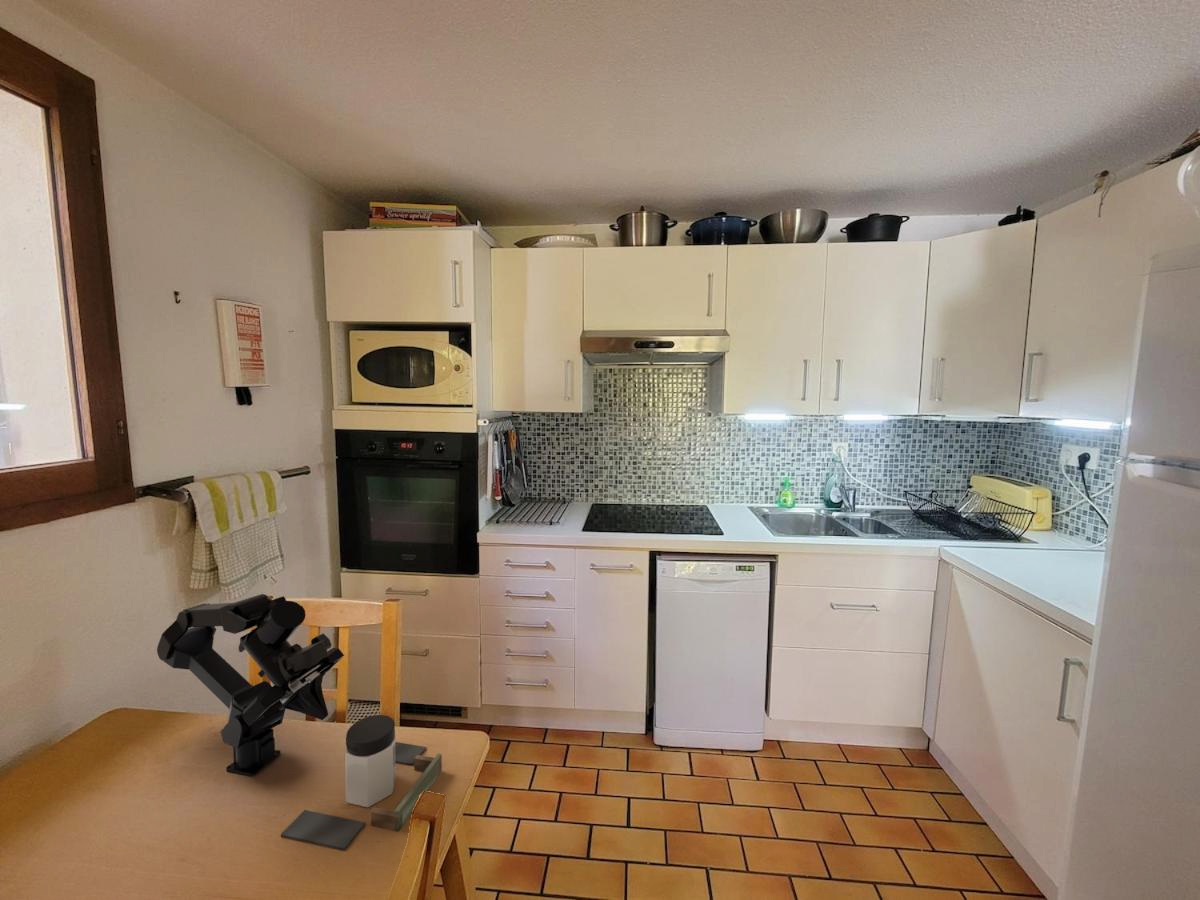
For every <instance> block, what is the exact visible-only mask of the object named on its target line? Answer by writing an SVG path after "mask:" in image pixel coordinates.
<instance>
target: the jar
mask: <svg viewBox="0 0 1200 900" xmlns="http://www.w3.org/2000/svg"><path fill="white" fill-rule="evenodd" d="M346 731H347V732H346V737H345V746H346V751H345V754H344V756H345V757H344V759H345V761H344V763H345V765H344V766H345V771H344V772H345V803H346V804H351V805H356V806H360V807H364V808H369V807H371V806H373V805H375V804H377V803H378V802H380V801H382V800H384V799H385V798H387V797H389V796H391V795H392V794H393V793H394V789H395V783H396V782H395V781H396V776H397V775H396V774H397V773H396V769H397V768H396V764H397V763H396V754H395V742H396V723H395V720H394V718H392V717H391V716H388V715H385V714H375V715H370V716H366V717H363V718H361V719H359V720H357V721H355V722H353V724H352V725H351V726H350V727H349V728H348V729H347V730H346Z"/></svg>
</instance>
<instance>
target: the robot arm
mask: <svg viewBox="0 0 1200 900" xmlns="http://www.w3.org/2000/svg"><path fill="white" fill-rule="evenodd" d="M306 616H307V615H306V611H305V608H304V606H303V605H300V604H299V603H298V602H297V601H296V602H295V601H293V600H287V599H286V597H285V596H280V597H276V598H273V599H272V598H269V596H268V595H266V594H265V593H261V594H257V595H253V596H250V597H248V598H245V599H241V600H239V601H235V602H226V603H205V602H204V603H200V604H197V605H194V606H191V607H187V608H185V609H183V610H182V611H179V612H178V614H177V616H176V620H174V622H172V623H171V625H169V626H168V627H167V628H166V629H165V630H164V631H163V632H162V634H161V636H160V639H159V641H158V643H157V647H156V652H157V653H156V654H157V657H158V658H159V660H161V661H163V662H164V663H165V664H167V666H169V667H170V668H172V669H180V670H189V671H190V672H191V673H192V674H193V675H194V676H195V677H196V678H197V679H198V680H199V681H200V682H201V683H202V684H203V685H204V686H205V687H206V688H208V689H209V691H211V693H212V694H213V695H215V697H216V698H218V700H219V701H220V702H221V703H222V704H223V705H224V706H225V707H226V708H228V717H227V718H228V720H227V723H226V724H225V726H224V727H223V728H222V729H221V730H220V735H221V739H222V742H223V743H224V744H226V745H228V746H231V747H232V750H233V751H232V753H233V755H232V756H233V762H231V763H230V764H229V765H228V766H226V770H225V771H226V772H230V773H234V774H235V773H236V774H242V775H246V776H250V777H252V776H255V775H256V774H258V773H259V772H260V771H262V770H263V769H264V768H265V767H267V765H268V764H270V763H271V762H272V761H274V760H275V759H276V758H278V757H279V756H280V755H281V750H279V749H276V741H275V740H276V739H275V738H274V728H275V727H277V726H279V725H281V724H283V720H284V717H285V712H286V710H289V711H293V712H298V713H301V714H304V715H306V716H310V717H312V718H315V719H318V720H320V721H323V720H325V719H326V718H328V716H329V710H328V708H327V704H326V700H325V697H324V692H323V688H322V683H323V679H324V677H325V676H326V673H328V672H329V671H330V670H331V669H332V668H334V667H335V665H336V664H338V663H339V661H340V660H342V659H343V658H344V657H345V654H344V653H343V651H342V650H341V649H340V648H339V647H338V648H337V647H332V642H331V640H330V638H329V637H328V636H327V635H326V634H325V633H320V634H318V635H316V636H315V637H313V638H312V639H311V640H310V644H308V645H307V646H306V647H302V646H301V645H300V644H297V643H294V644H293V645H291V643H290V642H289V638H291V636H293V634H294V633H295V632H296V630H297V629H298V628H299V627H300V626H301V625H302V624H303V622H304V621H305V619H306ZM216 627H222V631H224V632H226V633H230V634H234V635H236V634H240V633H242V632H245V631H247V630H249V629H252V628H253V629H252V630H251V631H249V632H248V633H246V634H244V635H242V636H241V637H240V638H239V644H238V652H239V653H242V652H244V651H246V652H247V653H248V654H249V656H250V657H251V658H252V659H253V660H254V662H255V663H256V665H258V667H259V669H260V671H258V672H257V675H258V676H259V677H260V678H263V677H265V676H266V677H267V678H268V679H269V681H270V682H271V683H272V685H273V686H272V685H271V683H270V682H268V681H266V680H263V681H261V682H258V683H257V684H255V685H252V684H251V682H249V681H248V680H247V679H246V678H245V677H244V676H242V674H241V673H239V672H238V670H236V669H235V668H234V667H233V666H232V665H231V664H230V663H228V662H227V660H225V658H223V657H222V656H221V655H220V654H219V653H218V652H217V650H215V649H214V648H213V647H214V639H215V634H216V631H217V628H216ZM331 647H332V648H331Z"/></svg>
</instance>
